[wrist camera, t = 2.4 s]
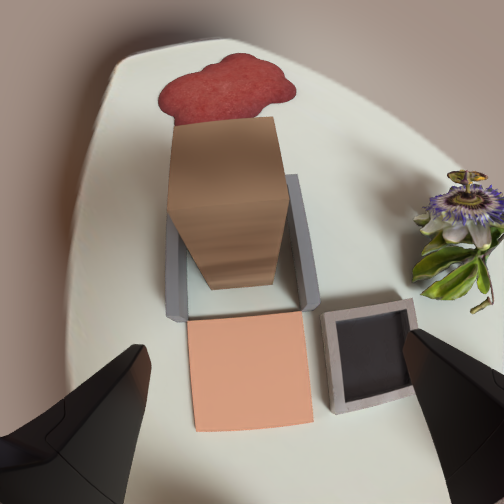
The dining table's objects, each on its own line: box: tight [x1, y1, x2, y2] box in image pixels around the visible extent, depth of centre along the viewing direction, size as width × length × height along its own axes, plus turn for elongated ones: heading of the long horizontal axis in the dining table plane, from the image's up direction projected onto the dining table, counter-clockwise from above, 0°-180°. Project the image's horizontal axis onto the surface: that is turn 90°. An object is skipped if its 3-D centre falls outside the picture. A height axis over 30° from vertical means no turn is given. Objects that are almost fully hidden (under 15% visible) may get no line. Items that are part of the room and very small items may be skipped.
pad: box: [187, 311, 314, 432], centre depth 21 cm, size 9×9×1 cm
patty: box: [158, 53, 296, 126], centre depth 33 cm, size 18×14×2 cm
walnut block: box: [167, 117, 289, 290], centre depth 19 cm, size 5×5×13 cm
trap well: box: [320, 298, 418, 415], centre depth 21 cm, size 8×8×2 cm
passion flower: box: [412, 170, 504, 314], centre depth 21 cm, size 11×11×12 cm
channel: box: [165, 174, 321, 322], centre depth 23 cm, size 11×11×3 cm
